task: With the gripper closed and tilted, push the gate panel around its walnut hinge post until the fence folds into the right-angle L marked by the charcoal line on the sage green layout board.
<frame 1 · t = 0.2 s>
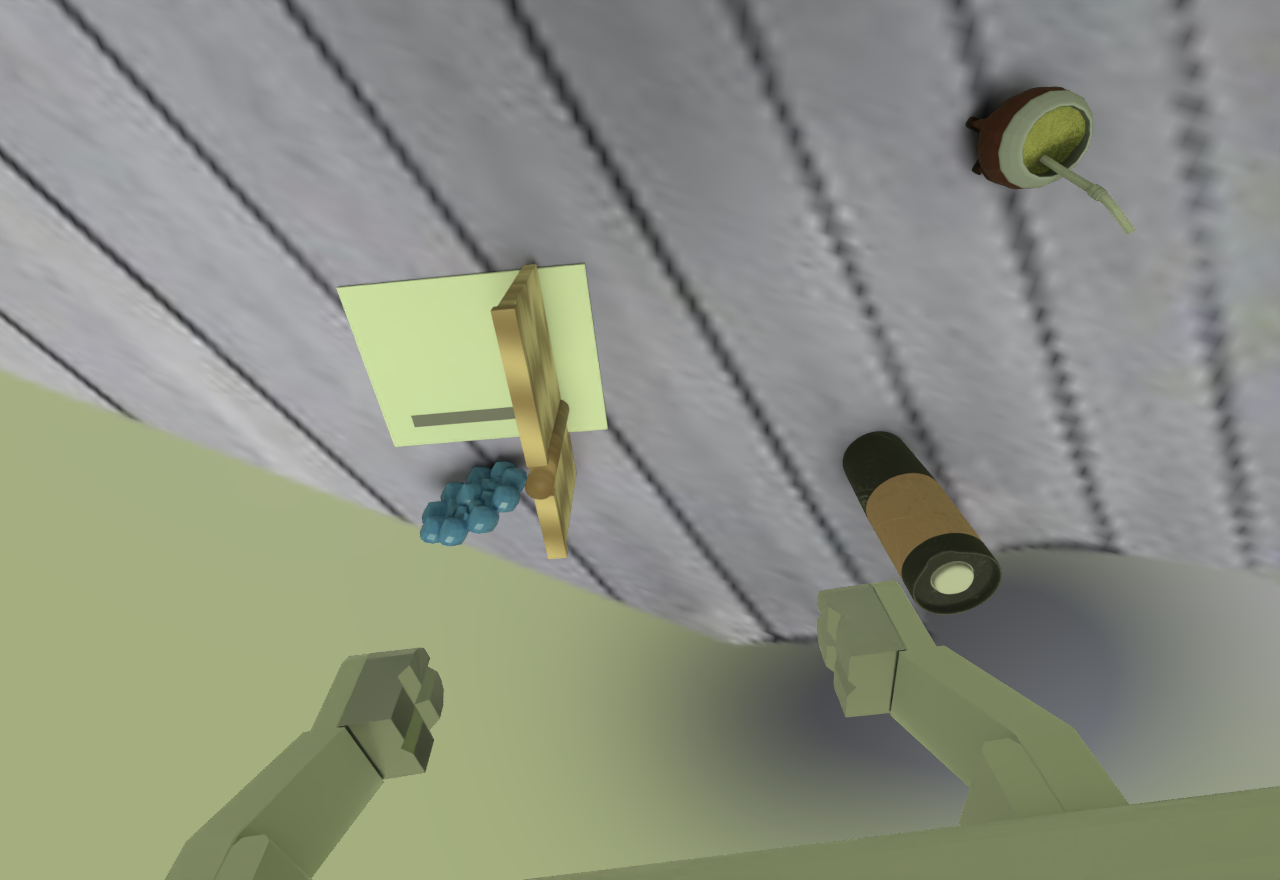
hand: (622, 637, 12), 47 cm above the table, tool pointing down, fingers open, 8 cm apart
layout board: (482, 361, 60), on the table
grapes: (489, 476, 67), on the table
gate panel: (533, 361, 52), point 8 cm above the table, hinge at 0.0°
mate gourd: (998, 140, 50), on the table
travel mug: (873, 456, 66), on the table
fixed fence: (558, 407, 62), on the table
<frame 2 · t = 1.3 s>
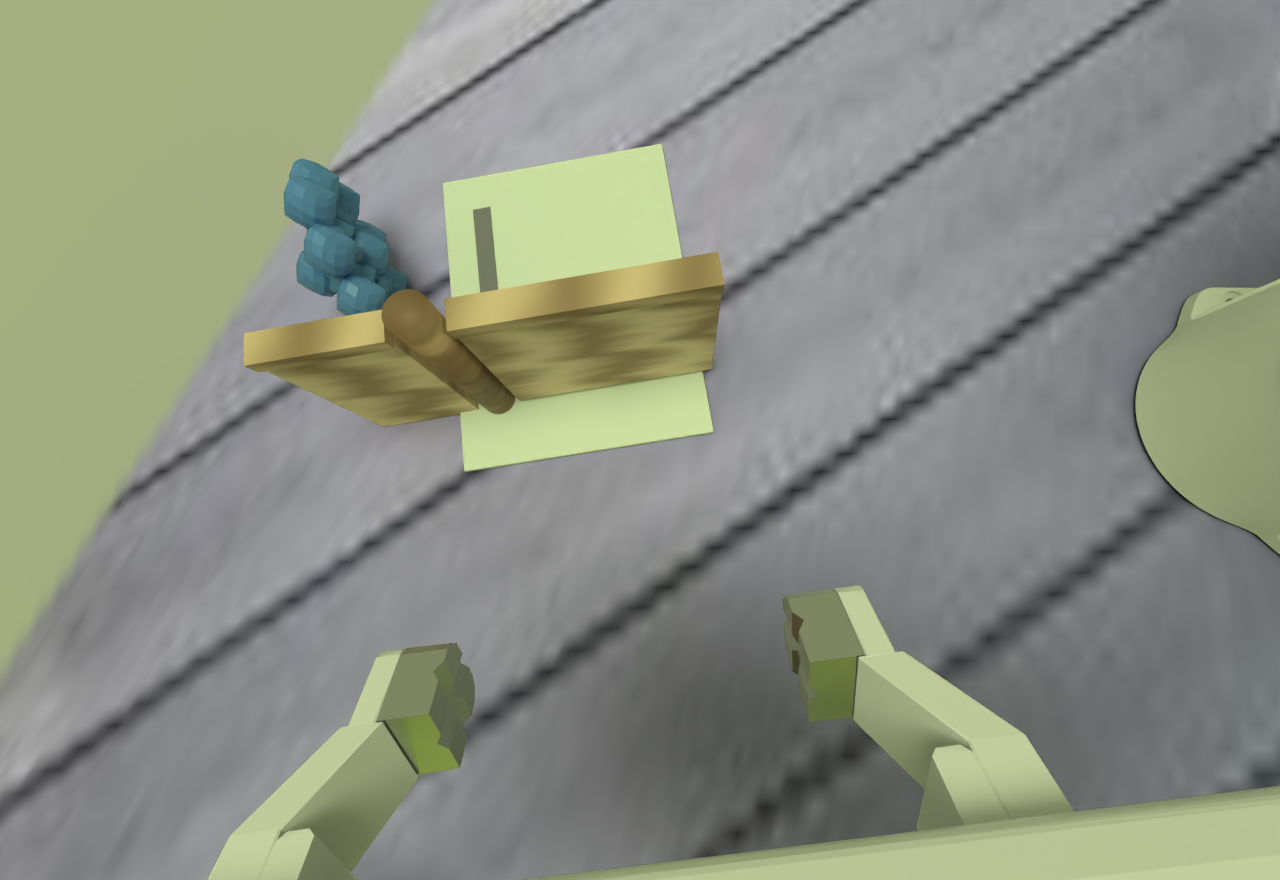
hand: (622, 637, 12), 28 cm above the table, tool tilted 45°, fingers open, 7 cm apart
layout board: (569, 300, 44), on the table
grapes: (387, 303, 45), on the table
gate panel: (600, 342, 35), point 7 cm above the table, hinge at 0.0°
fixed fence: (500, 400, 43), on the table
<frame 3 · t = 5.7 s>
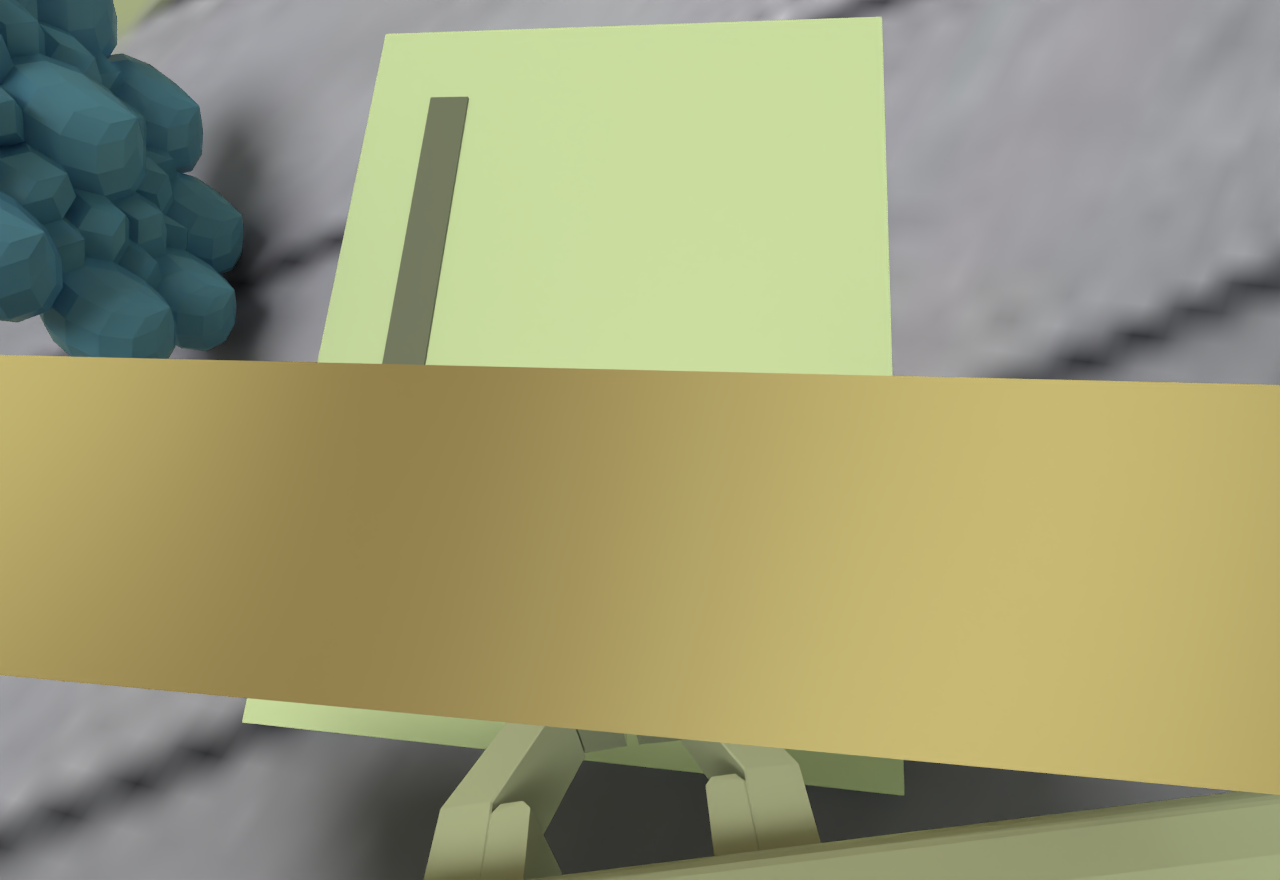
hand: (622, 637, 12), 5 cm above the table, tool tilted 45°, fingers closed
layout board: (594, 341, 18), on the table
grapes: (210, 267, 21), on the table
gate panel: (632, 562, 9), point 7 cm above the table, hinge at 0.6°, touching gripper
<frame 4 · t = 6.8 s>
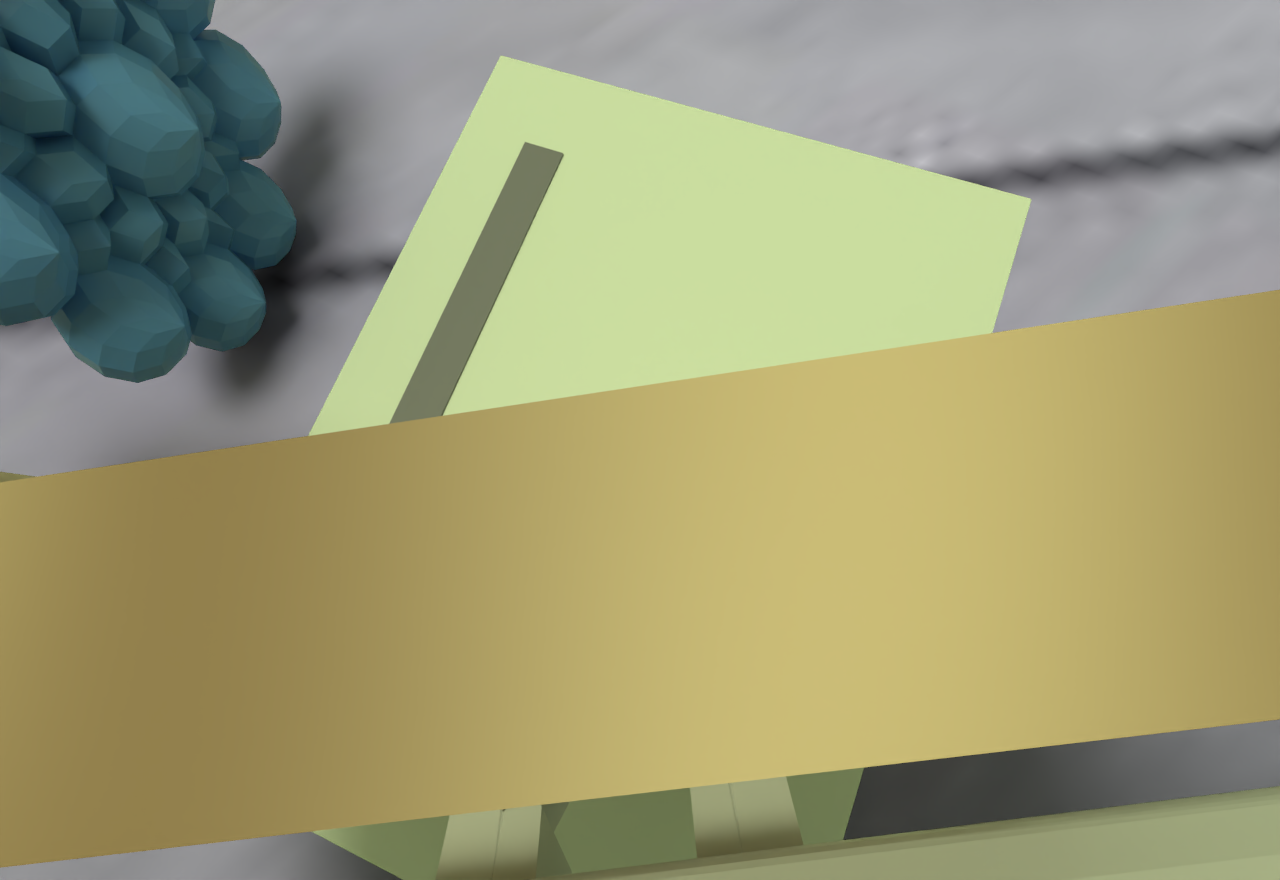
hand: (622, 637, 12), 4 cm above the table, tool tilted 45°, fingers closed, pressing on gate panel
layout board: (611, 463, 17), on the table
grapes: (257, 252, 20), on the table
gate panel: (572, 581, 9), point 7 cm above the table, hinge at 29.0°, touching gripper
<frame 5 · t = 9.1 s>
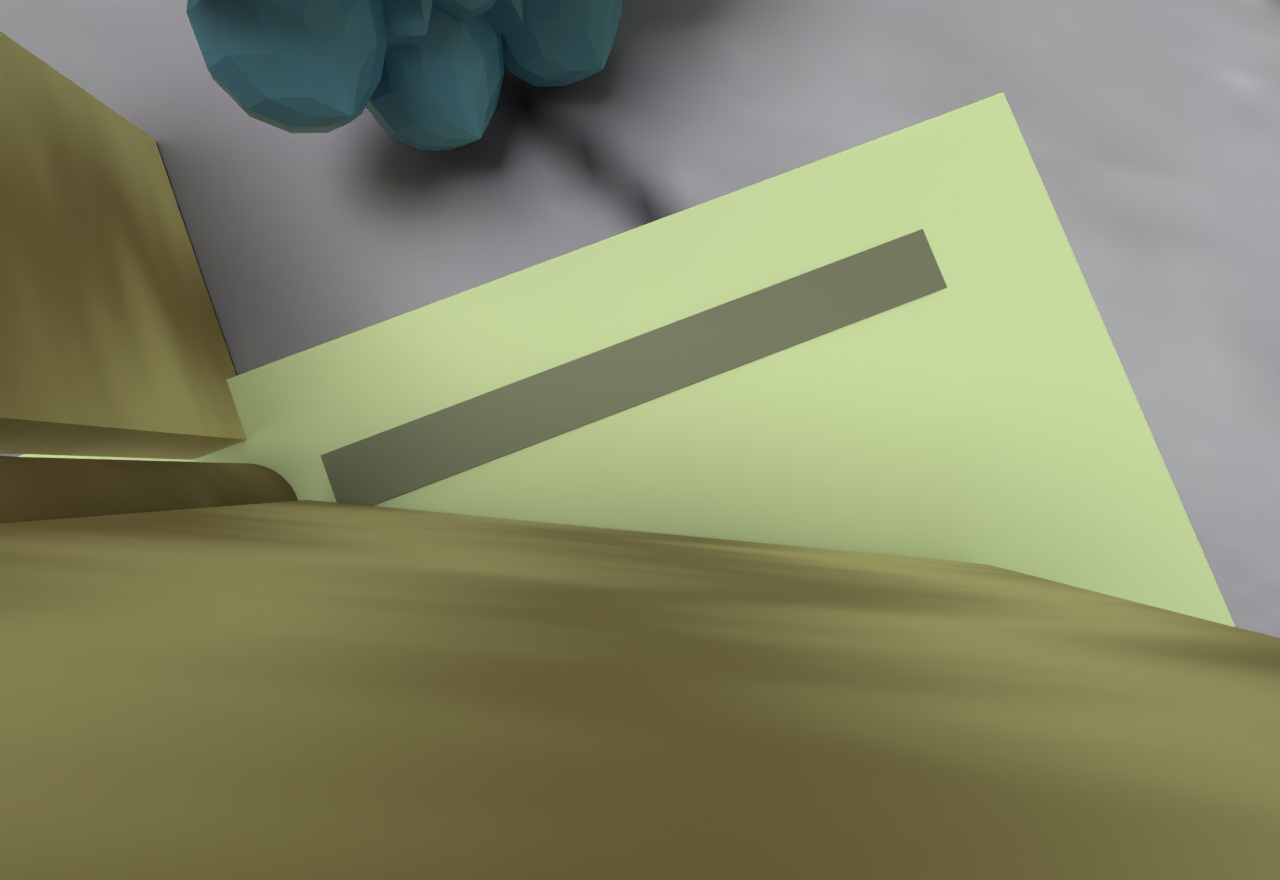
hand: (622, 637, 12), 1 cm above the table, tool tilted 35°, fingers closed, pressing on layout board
layout board: (650, 660, 13), on the table
grapes: (533, 40, 14), on the table
gate panel: (660, 670, 5), point 8 cm above the table, hinge at 63.6°, touching gripper
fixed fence: (256, 518, 13), on the table
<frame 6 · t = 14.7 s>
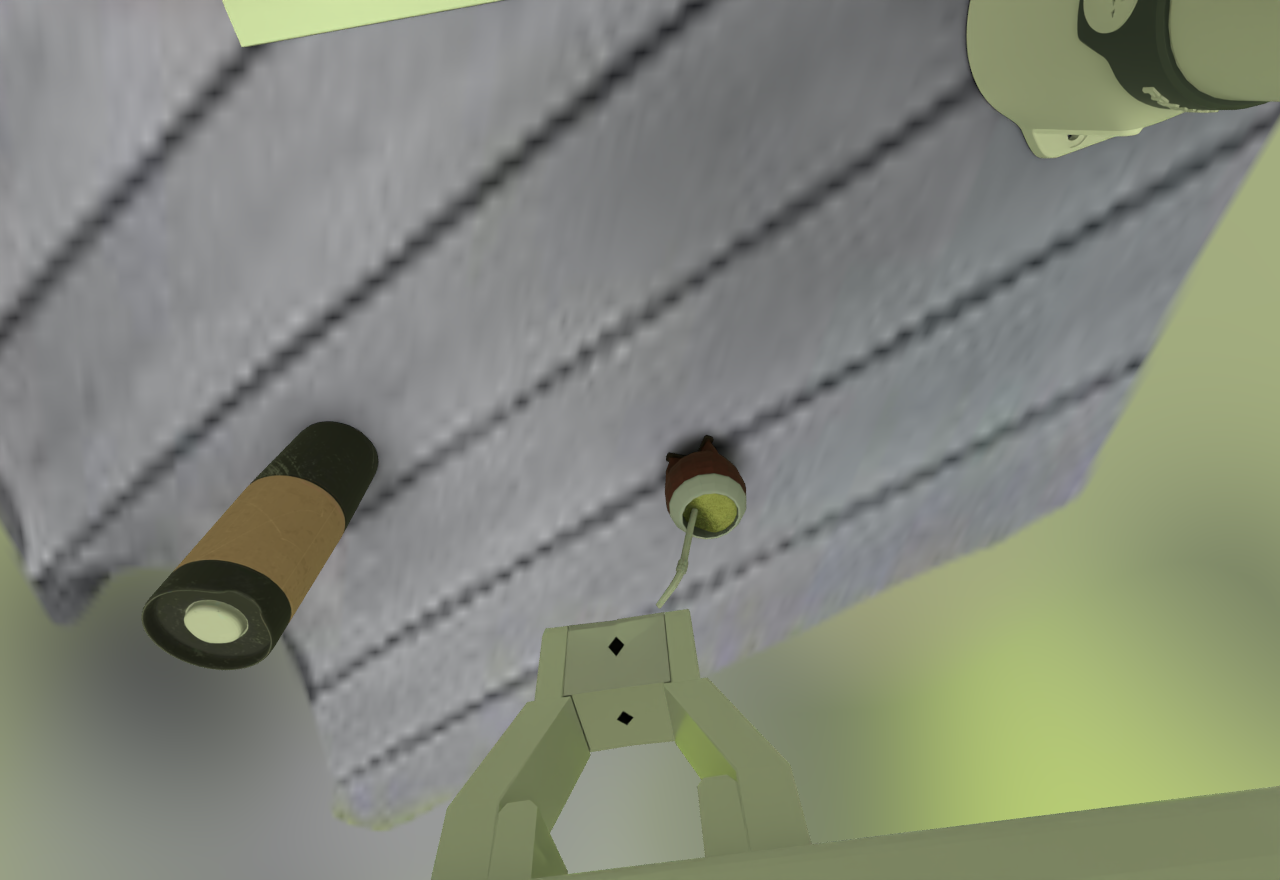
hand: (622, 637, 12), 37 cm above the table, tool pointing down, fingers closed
mate gourd: (693, 464, 55), on the table
travel mug: (339, 453, 53), on the table
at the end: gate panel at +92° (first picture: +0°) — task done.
